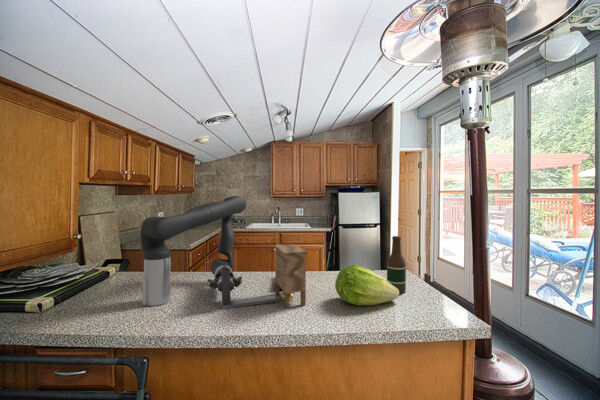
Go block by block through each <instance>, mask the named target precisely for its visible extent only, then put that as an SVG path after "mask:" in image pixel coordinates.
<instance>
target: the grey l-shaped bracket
mask: <svg viewBox="0 0 600 400" xmlns="http://www.w3.org/2000/svg"><path fill="white" fill-rule="evenodd" d="M221 283H222V292H221V308H222V310H226V309H227V310H228V309H232V308H233V309H234V308H239V307H241V308H242V307H248V306H255V305H262V304H270V303H277V302H279V297H278V296H277V295H276V294H272V295H265V296H257V297H248V298H241V299H234V300H232V299H231V291H230V268H222V269H221Z"/></svg>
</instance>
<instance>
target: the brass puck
mask: <svg viewBox="0 0 600 400" xmlns="http://www.w3.org/2000/svg"><path fill="white" fill-rule="evenodd" d="M280 301H281V302H283V303H284V291H281V292H280ZM293 301H294V293H289V303H290V302H293Z"/></svg>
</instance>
